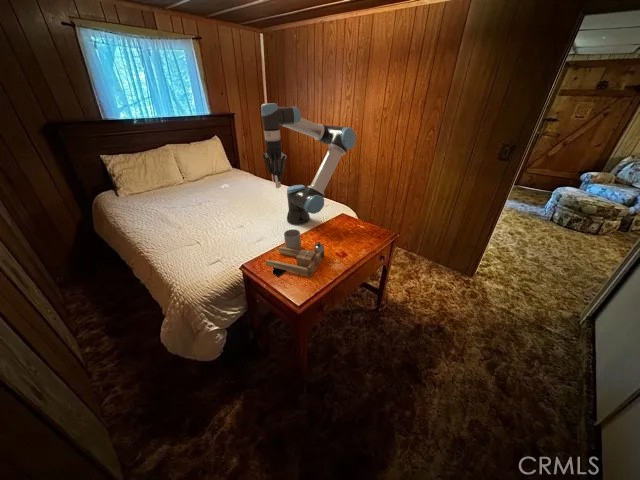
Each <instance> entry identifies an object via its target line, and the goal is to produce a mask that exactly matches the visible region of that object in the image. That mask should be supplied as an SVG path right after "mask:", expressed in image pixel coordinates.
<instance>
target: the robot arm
mask: <svg viewBox="0 0 640 480" xmlns="http://www.w3.org/2000/svg"><path fill="white" fill-rule="evenodd" d="M260 111H261V113H260V115H261V119H262V127H263V134H264V140H265V141H264V144H265V149H266V152H265V153H264V154H262V157H263V159H264V162H265V164H266V168H267V170H268V173H269V175H272V177H273V181H274V182H275V189H280V188H281V187H282V185H281V182H282V175H284V174H285V170H286V161H287V160H286V159H288V158H287V157H288V154H284V152H283V150H282V140H281V129H280V127H281V126H282V127H284V128H288V129H290V130H292V131H296V132H298V133H301V134H304V135H306V136H308V137H312V138H313V139H314V140H315V141H318V142H320V143H322V144H325V145H326V146H327V147H328V149H327V151H326V154H325V156H324V158H323V160H322V162H321V164H320V166H319V168H318V170H317V171H316V174H315V176H314V178H313V179H312V181H311V184H310V185H307V186H306V185H303V184H295V185H291V186H288V187H287V188H286V196H287V204H288V212H287V216H286V221H287V224H290V225H296V226H301V225H305V224H307V223H308V222H310V220H311V218H310V217H311V216H310V214H313V215H314V214H319V212H321V211H322V210H323V208H324V206H325V199H324V197H325V189H326V188H327V185H328V184H329V181H330V179H331V178H332V176H333V174H334V172H335V170H336V168H337V166H338V164H339V161H340V160H341V158H342V156H345V155H346V153H347V152H348V151H349V150H352V149H353V148H354V146H355V144H356V140H357V138H356V133H355V130H354V129H353V128H352V127H348V126H337V125H326V124H323V123H315V122H313V121H310V120H308V119H306V118H303V117H302V116H301V111H300V109H299V107H297V106H278V104H277V103H276V102H275V103H274V102H273V103H271V102H270V103H262V104H261V106H260Z"/></svg>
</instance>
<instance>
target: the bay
mask: <svg viewBox="0 0 640 480" xmlns="http://www.w3.org/2000/svg"><path fill="white" fill-rule="evenodd" d="M301 251H302V249H301V250H295V249H290V248H285V246H279V247H278V254H279V253H281V254H280V255H284V254H285V256H290V257H294V258H296V257H297V256H298V254H299V252H301ZM265 261H266V265H267V266H270V267H273V268H277V269H282V270H286V271H287V272H286V273H292V274H297V275H300V276H301V275H302V276H306V277H310V278H311V277H312V276H313V274H314V273H315V271H316V270H317V268H318V267H319V265H320V263H321V262H322V261H323V258H322V252H318V253H317V254H316V256H315V257H314V259H313V260H312V261H311V263H310V264H309V266H308V267H307V268H306V267H301V266H297V264H296V265H295V264H291V263H286V262H281V261H278V260H273V259H270V260H268V258H267V259H266V260H265Z"/></svg>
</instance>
